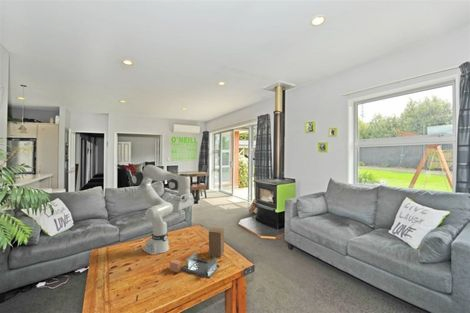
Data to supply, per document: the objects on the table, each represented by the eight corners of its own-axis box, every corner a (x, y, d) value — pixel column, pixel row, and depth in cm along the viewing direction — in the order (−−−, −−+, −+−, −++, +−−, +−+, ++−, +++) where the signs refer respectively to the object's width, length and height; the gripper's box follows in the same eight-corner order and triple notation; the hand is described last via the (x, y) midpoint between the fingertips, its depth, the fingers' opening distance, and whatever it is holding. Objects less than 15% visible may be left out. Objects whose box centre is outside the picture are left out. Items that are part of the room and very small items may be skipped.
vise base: (182, 270, 144) (182, 260, 143) (194, 260, 156) (193, 251, 156) (209, 278, 135) (209, 266, 135) (219, 267, 148) (219, 256, 148)
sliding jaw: (186, 268, 144) (186, 259, 144) (195, 260, 154) (195, 252, 154) (188, 268, 143) (188, 260, 143) (197, 260, 153) (197, 253, 153)
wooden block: (220, 257, 161) (220, 232, 160) (208, 256, 163) (208, 231, 162) (224, 251, 171) (223, 227, 170) (212, 250, 173) (212, 227, 172)
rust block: (178, 272, 141) (177, 264, 141) (170, 270, 144) (169, 262, 144) (181, 269, 145) (181, 261, 145) (173, 267, 148) (173, 259, 148)
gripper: (189, 192, 165) (189, 209, 166) (172, 197, 147) (172, 216, 147) (195, 193, 163) (195, 210, 163) (179, 198, 144) (179, 217, 144)
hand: (184, 213), depth 155 cm, fingers open, 8 cm apart
